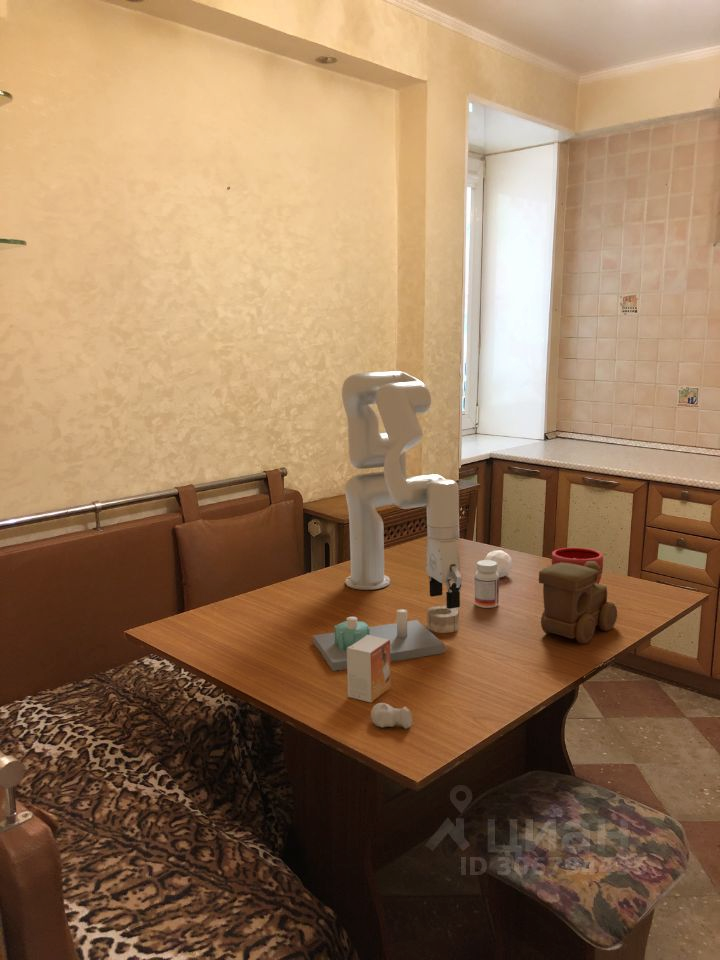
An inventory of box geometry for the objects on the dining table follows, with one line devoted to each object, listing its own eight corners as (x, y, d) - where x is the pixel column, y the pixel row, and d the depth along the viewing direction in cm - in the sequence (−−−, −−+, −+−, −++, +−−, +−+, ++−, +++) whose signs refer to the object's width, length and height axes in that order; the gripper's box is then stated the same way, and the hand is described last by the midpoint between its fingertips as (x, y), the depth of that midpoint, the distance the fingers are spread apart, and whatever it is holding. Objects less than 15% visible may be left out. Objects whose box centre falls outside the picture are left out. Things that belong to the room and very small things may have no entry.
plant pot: (612, 597, 210) (613, 553, 208) (578, 607, 203) (580, 562, 200) (573, 584, 221) (574, 542, 218) (540, 594, 213) (541, 551, 211)
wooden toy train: (577, 651, 176) (579, 580, 173) (533, 638, 184) (534, 569, 181) (621, 626, 190) (624, 559, 187) (578, 615, 198) (580, 550, 195)
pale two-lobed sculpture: (367, 730, 147) (380, 711, 151) (404, 741, 142) (417, 722, 146) (362, 713, 145) (376, 694, 149) (399, 723, 141) (413, 704, 144)
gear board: (313, 643, 184) (312, 610, 182) (416, 627, 192) (416, 596, 191) (333, 671, 169) (332, 636, 168) (444, 652, 177) (444, 618, 176)
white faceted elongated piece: (484, 570, 223) (470, 563, 235) (507, 585, 225) (492, 577, 236) (499, 547, 223) (484, 541, 235) (521, 562, 225) (505, 555, 237)
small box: (371, 703, 154) (370, 653, 152) (347, 697, 157) (345, 647, 155) (391, 687, 161) (390, 638, 159) (368, 681, 164) (367, 633, 162)
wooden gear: (422, 624, 194) (422, 608, 194) (451, 619, 197) (451, 604, 196) (434, 634, 187) (434, 618, 187) (464, 630, 190) (464, 614, 189)
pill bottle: (485, 598, 211) (486, 557, 209) (503, 604, 206) (504, 562, 204) (469, 604, 207) (469, 562, 205) (487, 610, 202) (488, 567, 200)
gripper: (414, 526, 194) (416, 593, 197) (444, 542, 178) (445, 614, 181) (442, 522, 196) (443, 589, 199) (474, 538, 180) (475, 610, 183)
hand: (444, 601), depth 190 cm, fingers open, 9 cm apart
